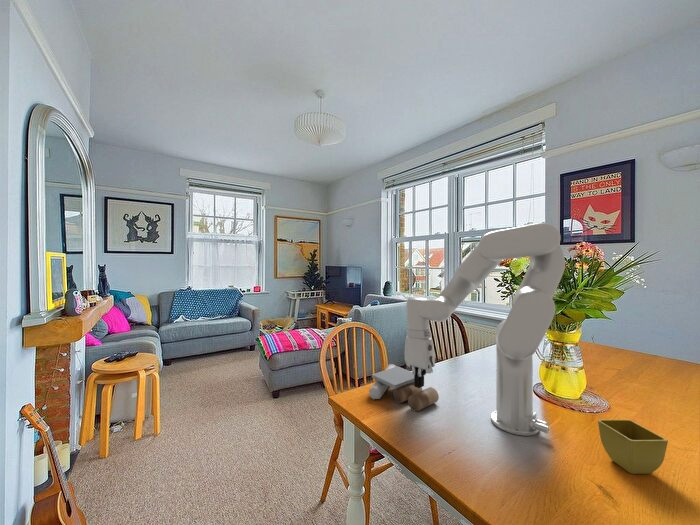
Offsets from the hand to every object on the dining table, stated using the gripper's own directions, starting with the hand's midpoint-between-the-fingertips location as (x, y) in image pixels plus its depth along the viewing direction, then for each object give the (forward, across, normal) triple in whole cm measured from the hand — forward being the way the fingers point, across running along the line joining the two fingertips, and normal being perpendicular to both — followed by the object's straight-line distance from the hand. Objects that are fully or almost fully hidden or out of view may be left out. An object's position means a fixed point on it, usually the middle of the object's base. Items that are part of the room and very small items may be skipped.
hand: (419, 386), depth 99 cm
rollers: (+6, +2, 0) cm, 6 cm away
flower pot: (+7, -50, -16) cm, 53 cm away
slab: (0, +11, 0) cm, 11 cm away
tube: (+6, +17, 0) cm, 18 cm away
